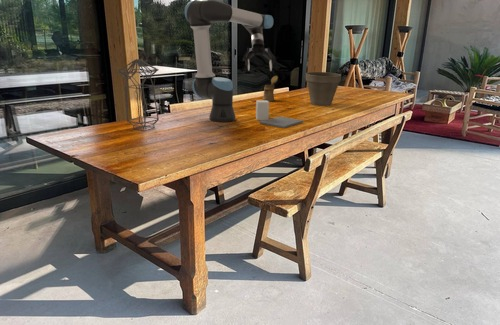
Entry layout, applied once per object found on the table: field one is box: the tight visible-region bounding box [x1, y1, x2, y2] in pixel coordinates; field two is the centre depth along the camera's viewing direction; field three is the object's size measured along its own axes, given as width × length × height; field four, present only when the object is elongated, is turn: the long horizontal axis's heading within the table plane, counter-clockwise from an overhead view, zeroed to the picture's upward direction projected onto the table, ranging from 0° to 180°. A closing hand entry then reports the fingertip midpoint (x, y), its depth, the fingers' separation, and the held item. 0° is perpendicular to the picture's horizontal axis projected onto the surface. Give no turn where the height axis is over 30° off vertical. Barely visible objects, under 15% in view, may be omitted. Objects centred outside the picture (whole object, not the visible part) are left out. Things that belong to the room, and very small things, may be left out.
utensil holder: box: [262, 75, 279, 102], centre depth 292 cm, size 9×14×18 cm, turn 138°
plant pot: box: [305, 71, 342, 107], centre depth 280 cm, size 25×25×22 cm
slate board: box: [259, 116, 304, 129], centre depth 222 cm, size 20×16×1 cm
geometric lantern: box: [117, 58, 160, 132], centre depth 197 cm, size 16×16×35 cm
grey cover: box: [255, 99, 270, 121], centre depth 229 cm, size 7×7×10 cm
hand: (260, 69), depth 237 cm, fingers open, 13 cm apart
